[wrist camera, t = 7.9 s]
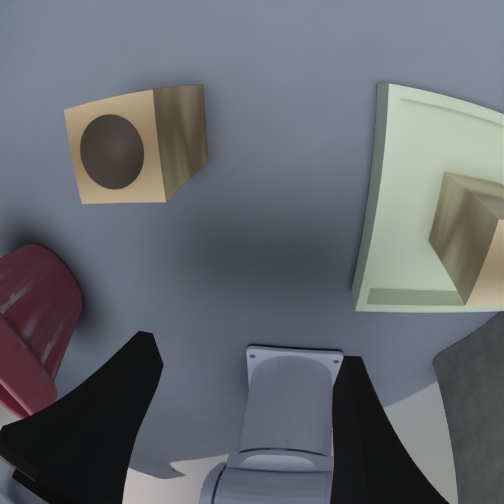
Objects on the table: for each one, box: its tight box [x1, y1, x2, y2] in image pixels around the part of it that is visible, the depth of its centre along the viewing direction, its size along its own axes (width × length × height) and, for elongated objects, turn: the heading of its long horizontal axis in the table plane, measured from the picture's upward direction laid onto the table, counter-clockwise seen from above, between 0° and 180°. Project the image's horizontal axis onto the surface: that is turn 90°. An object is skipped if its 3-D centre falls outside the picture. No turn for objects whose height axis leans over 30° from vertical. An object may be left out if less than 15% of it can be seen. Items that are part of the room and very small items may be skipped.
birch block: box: [428, 172, 504, 306], centre depth 12 cm, size 4×4×6 cm
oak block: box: [64, 85, 208, 204], centre depth 13 cm, size 4×4×6 cm
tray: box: [352, 83, 504, 312], centre depth 14 cm, size 13×13×2 cm
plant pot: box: [0, 244, 83, 419], centre depth 19 cm, size 14×14×13 cm
